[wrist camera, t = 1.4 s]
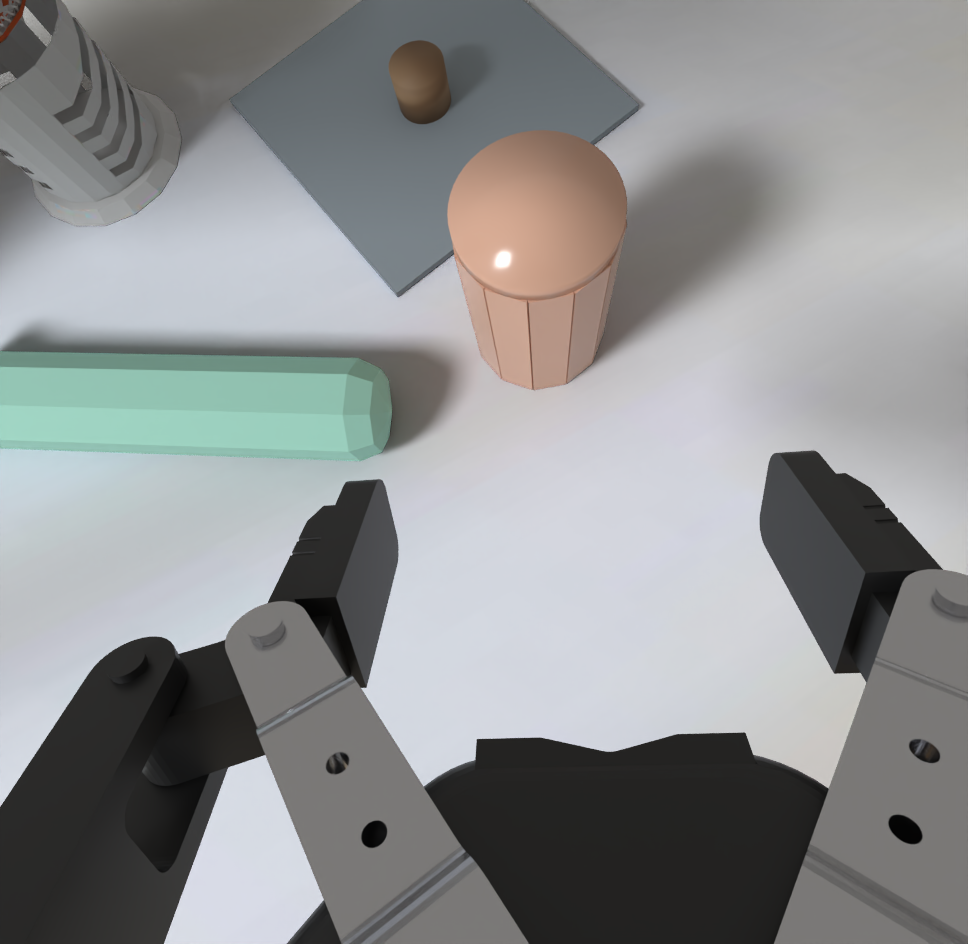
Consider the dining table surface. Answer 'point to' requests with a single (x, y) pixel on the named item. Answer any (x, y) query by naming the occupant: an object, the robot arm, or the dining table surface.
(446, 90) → the brown capsule cylinder
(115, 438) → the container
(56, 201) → the french press
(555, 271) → the cup
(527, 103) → the slate mat
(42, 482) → the dining table surface
